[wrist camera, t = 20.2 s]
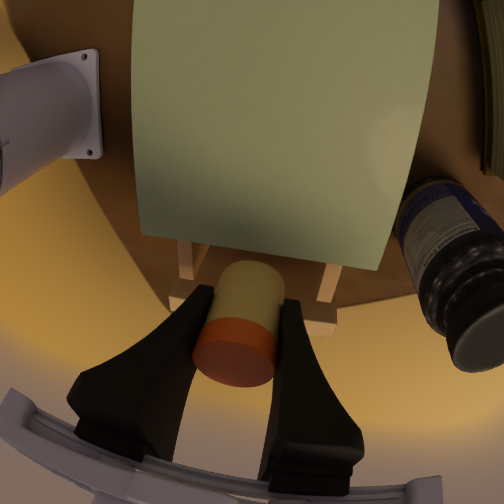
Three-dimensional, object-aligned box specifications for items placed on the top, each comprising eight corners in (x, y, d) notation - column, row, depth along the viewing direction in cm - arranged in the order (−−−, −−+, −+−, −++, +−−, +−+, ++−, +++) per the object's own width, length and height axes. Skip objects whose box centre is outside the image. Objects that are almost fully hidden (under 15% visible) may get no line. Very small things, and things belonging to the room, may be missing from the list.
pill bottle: (480, 226, 18) (552, 341, 9) (414, 267, 21) (454, 396, 12) (449, 156, 16) (549, 259, 7) (375, 205, 19) (418, 339, 10)
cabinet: (356, 197, 19) (377, 271, 13) (192, 173, 20) (141, 234, 14) (391, -12, 11) (441, -48, 5) (202, -32, 12) (142, -72, 6)
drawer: (316, 319, 24) (314, 380, 20) (199, 300, 25) (177, 356, 21) (371, 92, 15) (401, 108, 10) (200, 71, 15) (154, 79, 11)
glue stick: (219, 303, 16) (194, 379, 12) (220, 253, 14) (188, 332, 10) (281, 313, 15) (270, 393, 12) (291, 264, 14) (281, 349, 10)
